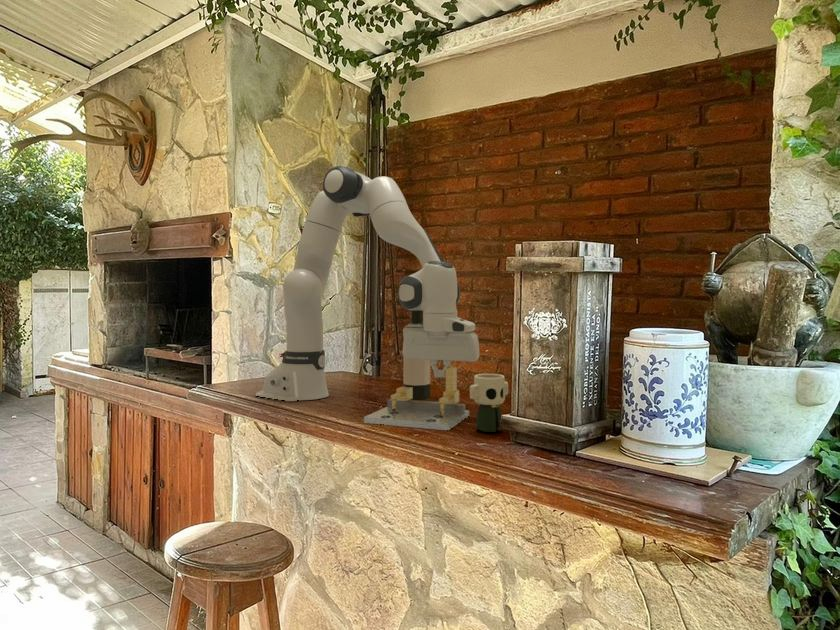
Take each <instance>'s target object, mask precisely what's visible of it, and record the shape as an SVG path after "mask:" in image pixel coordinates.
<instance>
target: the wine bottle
mask: <svg viewBox="0 0 840 630" xmlns="http://www.w3.org/2000/svg"><path fill="white" fill-rule="evenodd" d="M410 312H411V313H410V318H411V319H410V320H411V321H410V324H423V311H422V310H410ZM402 356H403V355H402ZM402 365H403V372H402V373H403V375H402V377H403V387H413V398H412V399H411V400H425V399H426V400H427V399H429V398H431V365H430V360H423V359H405V358H404V356H403V364H402Z"/></svg>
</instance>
